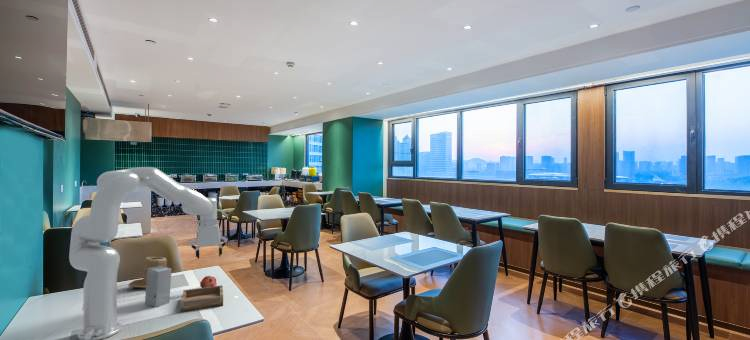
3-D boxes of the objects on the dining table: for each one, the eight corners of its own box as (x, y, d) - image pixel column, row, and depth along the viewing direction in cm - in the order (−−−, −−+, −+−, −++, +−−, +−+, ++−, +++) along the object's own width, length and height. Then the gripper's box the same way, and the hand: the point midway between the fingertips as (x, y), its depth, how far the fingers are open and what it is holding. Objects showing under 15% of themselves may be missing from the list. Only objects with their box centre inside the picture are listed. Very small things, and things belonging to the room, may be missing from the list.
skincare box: (144, 304, 152) (144, 268, 152) (160, 298, 158) (161, 264, 158) (155, 307, 148) (155, 271, 148) (172, 302, 154) (172, 267, 154)
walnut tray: (223, 305, 151) (223, 296, 151) (180, 312, 144) (180, 302, 144) (222, 293, 165) (222, 285, 165) (183, 298, 158) (183, 290, 158)
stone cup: (172, 283, 181) (172, 254, 181) (156, 290, 169) (156, 260, 169) (145, 282, 182) (145, 254, 182) (127, 289, 170) (127, 259, 170)
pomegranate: (198, 295, 169) (200, 287, 163) (199, 280, 173) (201, 272, 167) (214, 294, 173) (217, 286, 166) (215, 280, 177) (218, 272, 171)
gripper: (188, 225, 163) (188, 261, 163) (227, 222, 170) (228, 256, 171) (189, 222, 170) (190, 257, 170) (227, 220, 177) (227, 253, 177)
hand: (209, 257), depth 170 cm, fingers open, 9 cm apart
